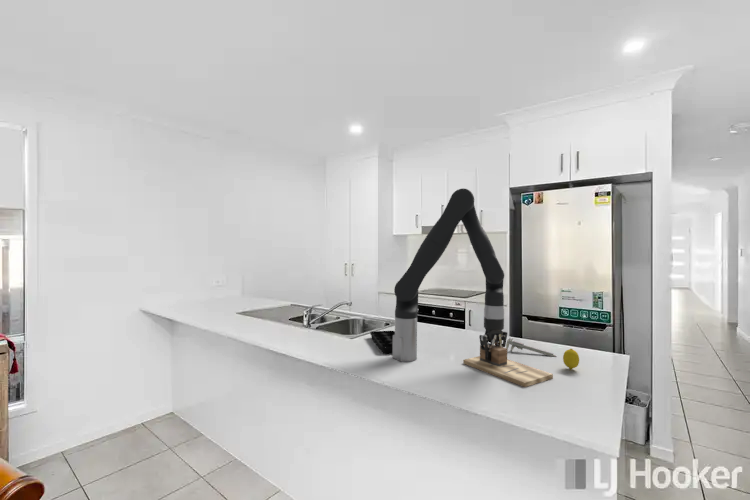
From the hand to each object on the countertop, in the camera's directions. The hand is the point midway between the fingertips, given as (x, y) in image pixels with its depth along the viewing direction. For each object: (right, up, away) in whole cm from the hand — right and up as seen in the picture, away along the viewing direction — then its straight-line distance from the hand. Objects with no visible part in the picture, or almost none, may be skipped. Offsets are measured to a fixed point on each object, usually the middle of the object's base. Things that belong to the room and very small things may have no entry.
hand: (493, 359), depth 145 cm
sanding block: (0, -1, 0) cm, 1 cm away
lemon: (+29, -3, -3) cm, 29 cm away
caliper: (+22, -3, +18) cm, 28 cm away
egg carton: (-40, -2, +28) cm, 49 cm away
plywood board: (+3, -3, -5) cm, 7 cm away
